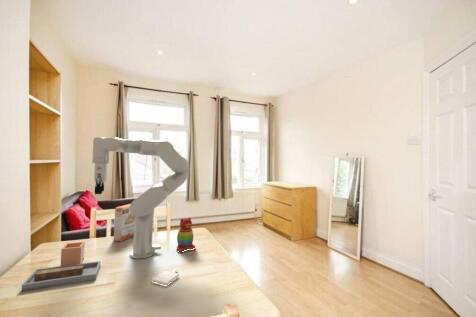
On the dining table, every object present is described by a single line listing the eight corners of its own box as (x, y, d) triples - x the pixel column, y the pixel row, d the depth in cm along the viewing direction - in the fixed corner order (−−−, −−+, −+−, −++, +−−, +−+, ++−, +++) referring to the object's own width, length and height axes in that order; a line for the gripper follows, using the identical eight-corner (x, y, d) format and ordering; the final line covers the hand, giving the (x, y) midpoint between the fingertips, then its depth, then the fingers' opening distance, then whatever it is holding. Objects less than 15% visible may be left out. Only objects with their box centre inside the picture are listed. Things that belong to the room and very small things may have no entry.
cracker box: (121, 242, 137) (122, 208, 138) (113, 241, 139) (114, 207, 139) (136, 234, 151) (137, 204, 151) (128, 234, 152) (129, 203, 153)
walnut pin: (85, 265, 100) (42, 259, 93) (84, 268, 97) (40, 262, 91) (78, 283, 98) (34, 277, 92) (77, 286, 96) (31, 281, 90)
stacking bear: (178, 253, 124) (180, 221, 124) (173, 247, 132) (174, 217, 132) (197, 250, 130) (198, 219, 130) (190, 244, 138) (191, 215, 138)
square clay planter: (83, 259, 113) (84, 241, 113) (80, 266, 106) (81, 247, 106) (65, 261, 110) (66, 243, 110) (60, 268, 103) (61, 249, 103)
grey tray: (100, 266, 106) (100, 261, 106) (95, 279, 94) (95, 274, 94) (36, 275, 97) (36, 269, 97) (21, 291, 85) (21, 284, 85)
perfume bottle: (151, 278, 94) (169, 266, 105) (150, 283, 94) (169, 270, 105) (166, 283, 91) (183, 270, 102) (166, 288, 91) (183, 274, 102)
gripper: (107, 161, 113) (106, 194, 113) (110, 160, 129) (108, 190, 128) (89, 160, 110) (88, 195, 110) (94, 160, 125) (93, 190, 125)
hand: (99, 192), depth 119 cm, fingers open, 9 cm apart
